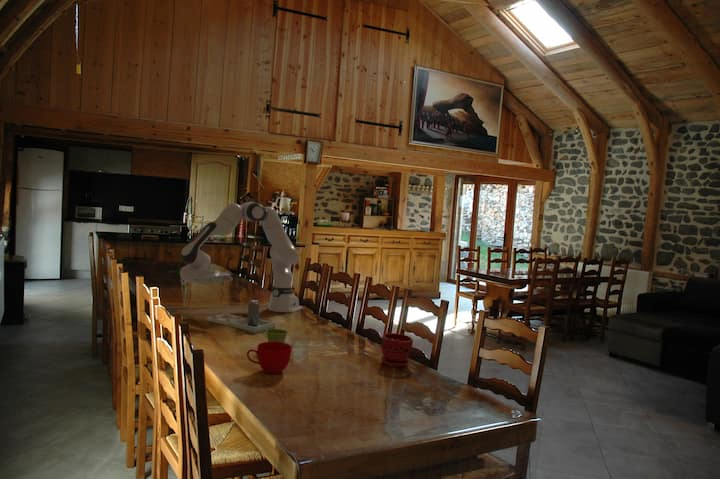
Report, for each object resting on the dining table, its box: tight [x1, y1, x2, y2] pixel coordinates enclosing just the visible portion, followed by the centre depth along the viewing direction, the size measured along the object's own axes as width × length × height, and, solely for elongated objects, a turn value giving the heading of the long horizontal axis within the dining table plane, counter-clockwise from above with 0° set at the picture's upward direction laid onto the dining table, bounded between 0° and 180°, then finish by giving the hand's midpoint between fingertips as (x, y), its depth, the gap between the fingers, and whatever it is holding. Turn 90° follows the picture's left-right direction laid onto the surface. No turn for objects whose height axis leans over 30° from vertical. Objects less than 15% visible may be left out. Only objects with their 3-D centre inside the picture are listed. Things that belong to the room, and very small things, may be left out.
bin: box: [229, 317, 276, 335], centre depth 275 cm, size 16×16×3 cm
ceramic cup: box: [246, 341, 293, 375], centre depth 209 cm, size 13×17×10 cm
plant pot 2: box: [380, 332, 414, 368], centre depth 232 cm, size 13×13×12 cm
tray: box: [206, 313, 247, 326], centre depth 283 cm, size 14×14×3 cm
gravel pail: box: [247, 299, 260, 327], centre depth 275 cm, size 6×6×13 cm
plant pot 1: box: [265, 328, 289, 343], centre depth 238 cm, size 9×9×9 cm
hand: (225, 280), depth 284 cm, fingers open, 8 cm apart
